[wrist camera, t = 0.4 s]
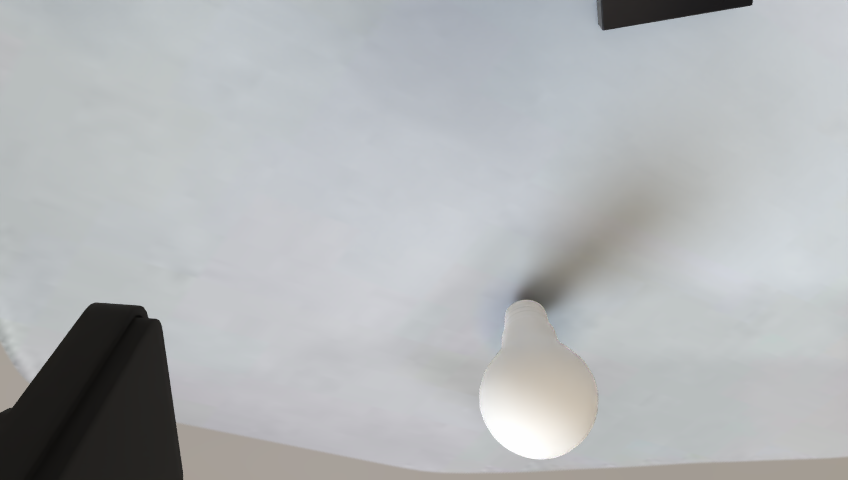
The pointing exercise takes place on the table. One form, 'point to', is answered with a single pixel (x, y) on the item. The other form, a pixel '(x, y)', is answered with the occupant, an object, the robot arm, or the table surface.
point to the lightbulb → (537, 388)
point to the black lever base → (657, 10)
